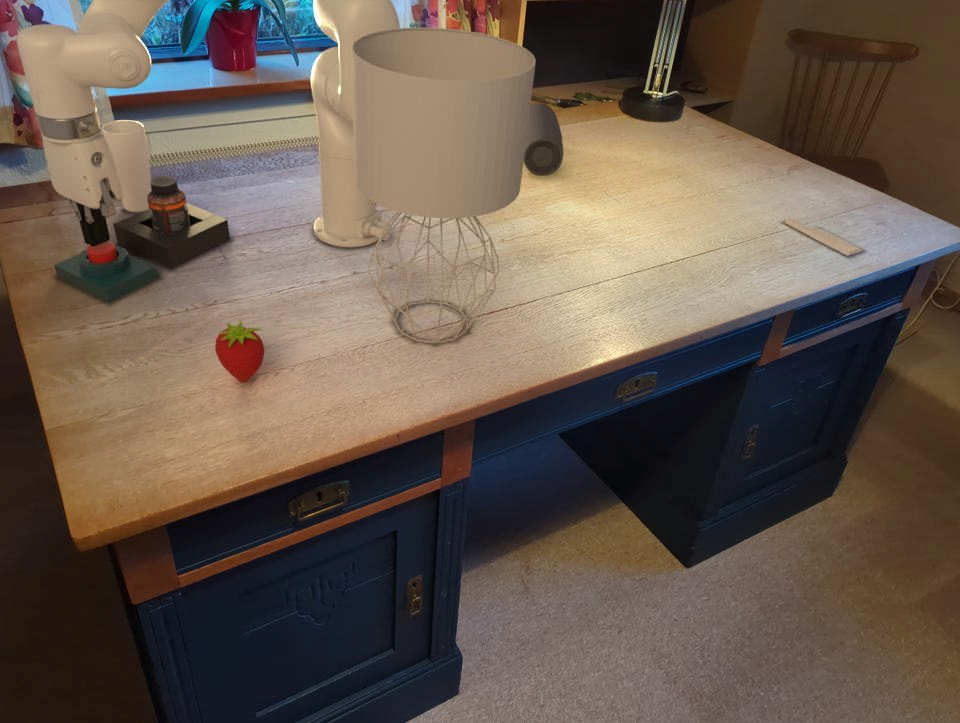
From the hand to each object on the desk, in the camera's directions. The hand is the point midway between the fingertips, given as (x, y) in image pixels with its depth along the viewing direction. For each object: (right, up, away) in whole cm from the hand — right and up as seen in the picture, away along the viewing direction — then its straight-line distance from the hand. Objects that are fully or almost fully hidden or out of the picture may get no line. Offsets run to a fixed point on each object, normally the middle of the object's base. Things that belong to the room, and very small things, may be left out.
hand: (97, 241), depth 115 cm
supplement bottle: (+6, +2, +14) cm, 16 cm away
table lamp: (+51, -12, +1) cm, 52 cm away
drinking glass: (-4, +10, +23) cm, 26 cm away
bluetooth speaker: (+71, +27, +56) cm, 94 cm away
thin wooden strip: (+127, +7, +36) cm, 132 cm away
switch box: (0, -5, +4) cm, 6 cm away
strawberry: (+26, -21, -13) cm, 36 cm away
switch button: (0, -2, +2) cm, 3 cm away
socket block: (+6, +2, +14) cm, 16 cm away
